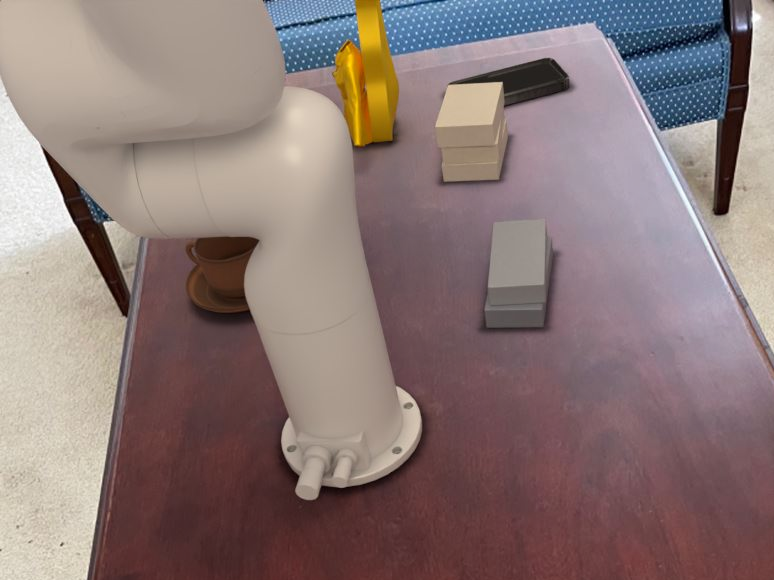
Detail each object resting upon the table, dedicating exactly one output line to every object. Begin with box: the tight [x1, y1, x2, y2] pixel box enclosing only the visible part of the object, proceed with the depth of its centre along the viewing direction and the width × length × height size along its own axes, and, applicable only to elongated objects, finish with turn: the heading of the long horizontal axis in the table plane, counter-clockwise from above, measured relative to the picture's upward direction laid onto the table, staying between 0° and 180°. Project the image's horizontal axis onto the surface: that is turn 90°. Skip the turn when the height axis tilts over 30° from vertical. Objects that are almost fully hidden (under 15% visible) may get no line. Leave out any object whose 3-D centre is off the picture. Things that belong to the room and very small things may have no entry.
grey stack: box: [483, 218, 554, 329], centre depth 94 cm, size 12×6×4 cm, turn 172°
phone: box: [446, 57, 570, 106], centre depth 124 cm, size 8×1×15 cm
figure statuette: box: [331, 0, 400, 148], centre depth 113 cm, size 18×8×22 cm, turn 5°
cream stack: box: [440, 107, 509, 183], centre depth 112 cm, size 10×7×4 cm
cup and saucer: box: [184, 236, 260, 314], centre depth 99 cm, size 12×12×6 cm
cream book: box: [434, 82, 505, 149], centre depth 109 cm, size 10×7×3 cm, turn 172°
